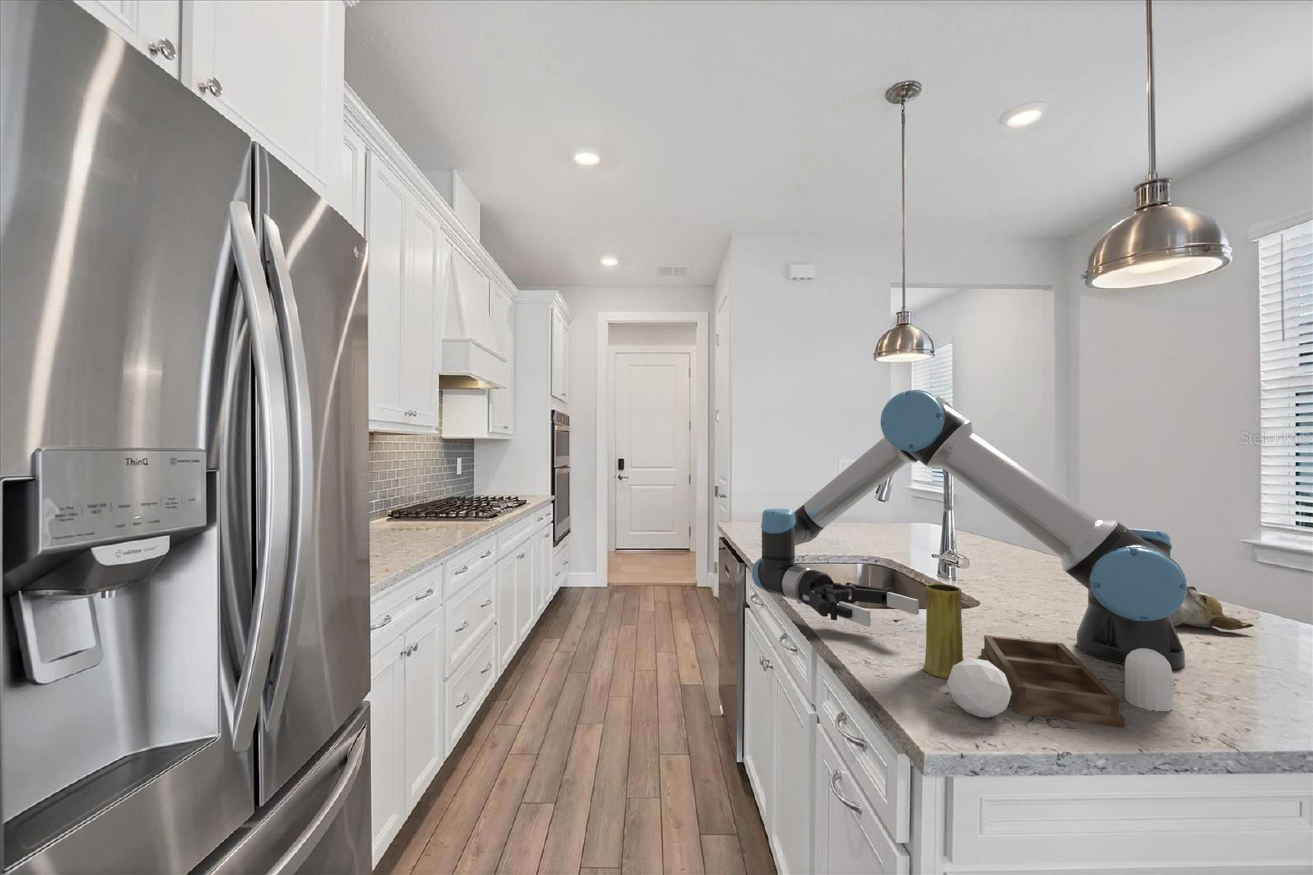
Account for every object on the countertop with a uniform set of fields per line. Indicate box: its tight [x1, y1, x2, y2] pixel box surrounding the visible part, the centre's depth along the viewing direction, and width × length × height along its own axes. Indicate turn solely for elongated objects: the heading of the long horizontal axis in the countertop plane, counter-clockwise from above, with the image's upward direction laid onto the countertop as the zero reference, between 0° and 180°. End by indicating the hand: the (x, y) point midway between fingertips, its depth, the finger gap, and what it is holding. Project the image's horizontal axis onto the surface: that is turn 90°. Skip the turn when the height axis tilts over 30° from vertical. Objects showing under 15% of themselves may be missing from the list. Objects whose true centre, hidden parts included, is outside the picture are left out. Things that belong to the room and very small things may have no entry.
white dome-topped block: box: [1124, 648, 1174, 712], centre depth 83 cm, size 5×5×8 cm
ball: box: [946, 657, 1012, 719], centre depth 80 cm, size 8×8×8 cm
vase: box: [923, 583, 964, 680], centre depth 94 cm, size 6×6×14 cm
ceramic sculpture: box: [1171, 586, 1254, 631], centre depth 119 cm, size 11×9×15 cm
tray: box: [980, 634, 1126, 728], centre depth 89 cm, size 13×23×4 cm, turn 160°
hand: (894, 612), depth 103 cm, fingers open, 13 cm apart
